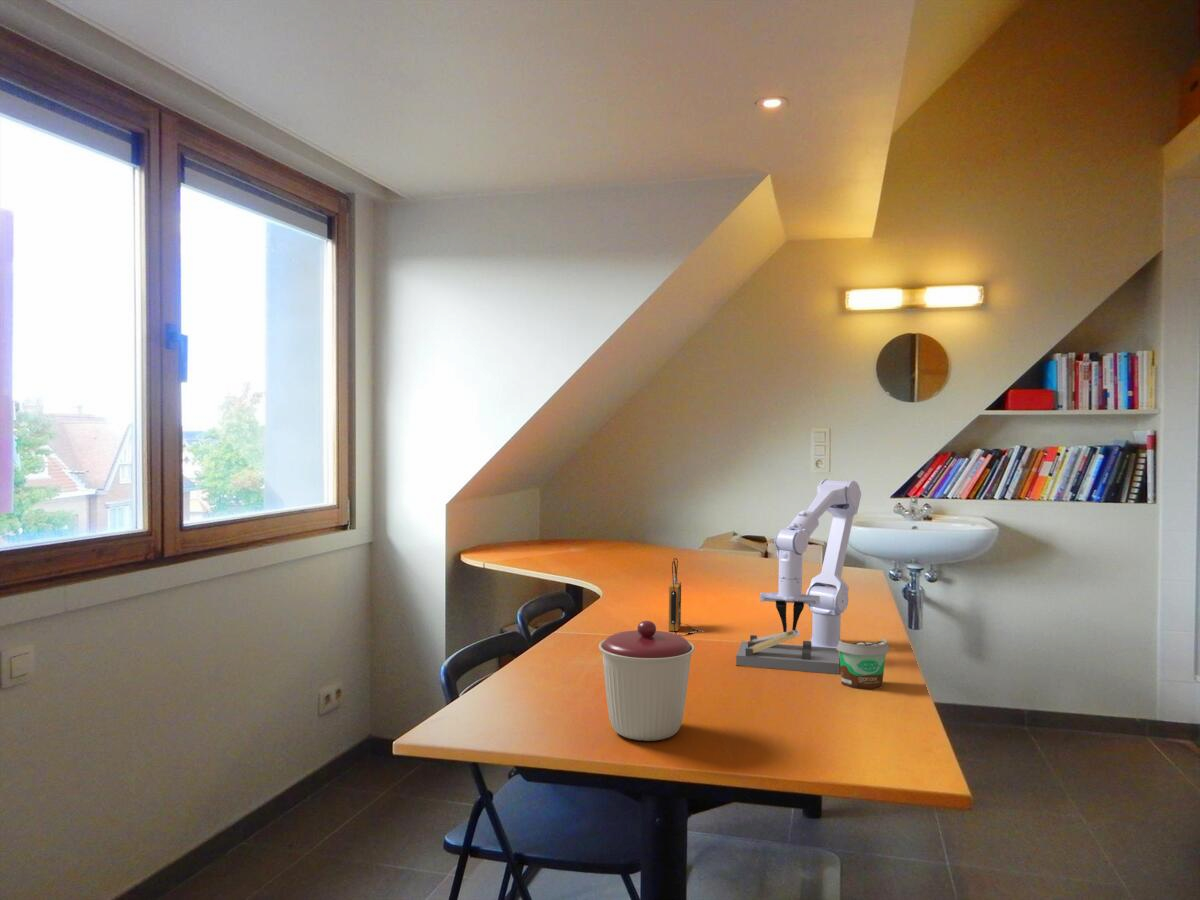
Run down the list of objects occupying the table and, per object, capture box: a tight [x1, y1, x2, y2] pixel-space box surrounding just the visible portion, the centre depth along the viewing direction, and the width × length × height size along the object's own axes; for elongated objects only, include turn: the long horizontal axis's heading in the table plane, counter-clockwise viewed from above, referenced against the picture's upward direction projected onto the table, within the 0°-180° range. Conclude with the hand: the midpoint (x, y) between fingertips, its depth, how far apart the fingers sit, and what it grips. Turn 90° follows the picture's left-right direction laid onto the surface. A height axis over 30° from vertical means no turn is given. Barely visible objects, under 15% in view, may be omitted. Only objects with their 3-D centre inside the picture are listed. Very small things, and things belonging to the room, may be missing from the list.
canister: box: [598, 620, 696, 742], centre depth 160 cm, size 18×18×21 cm
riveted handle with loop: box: [668, 557, 705, 635], centre depth 239 cm, size 15×10×20 cm
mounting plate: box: [735, 634, 840, 675], centre depth 208 cm, size 14×24×4 cm, turn 75°
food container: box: [836, 637, 890, 691], centre depth 189 cm, size 12×6×10 cm, turn 105°
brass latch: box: [749, 630, 796, 653], centre depth 205 cm, size 12×4×1 cm, turn 74°
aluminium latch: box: [752, 628, 800, 645], centre depth 213 cm, size 12×4×1 cm, turn 75°
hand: (789, 631), depth 212 cm, fingers closed
